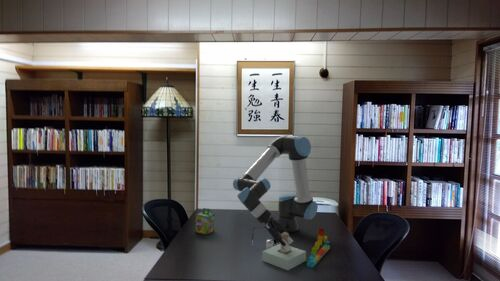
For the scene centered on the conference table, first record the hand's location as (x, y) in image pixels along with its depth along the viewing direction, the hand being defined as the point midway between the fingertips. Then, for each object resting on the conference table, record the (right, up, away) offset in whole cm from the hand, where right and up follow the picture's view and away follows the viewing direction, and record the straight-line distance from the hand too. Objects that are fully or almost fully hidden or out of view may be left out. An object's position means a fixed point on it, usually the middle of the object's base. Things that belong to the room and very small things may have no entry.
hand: (290, 246), depth 172 cm
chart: (+16, -9, +8) cm, 20 cm away
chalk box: (-50, -4, +42) cm, 65 cm away
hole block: (-3, -8, +1) cm, 9 cm away
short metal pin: (-10, -7, +16) cm, 20 cm away
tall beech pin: (-3, -8, +1) cm, 9 cm away
